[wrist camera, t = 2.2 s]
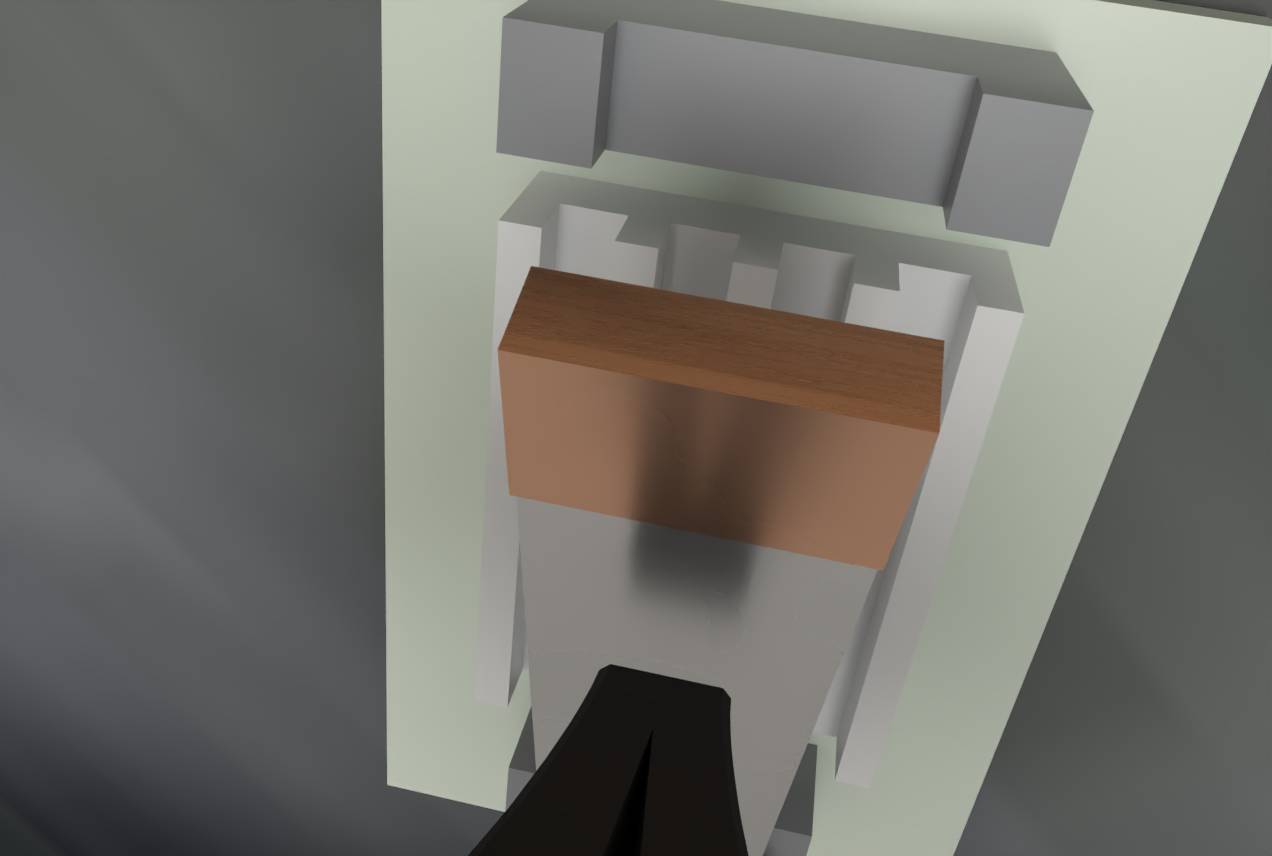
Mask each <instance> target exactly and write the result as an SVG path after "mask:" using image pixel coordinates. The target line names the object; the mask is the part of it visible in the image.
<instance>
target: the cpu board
mask: <svg viewBox="0 0 1272 856" xmlns="http://www.w3.org/2000/svg"><path fill="white" fill-rule="evenodd" d="M1271 64H1272V20H1271V19H1270V18H1268V17H1264V16H1258V15H1251V14H1244V13H1237V12H1231V11H1224V10H1217V9H1211V8H1204V7H1197V6H1190V5H1184V4H1177V3H1170V2H1163V1H1157V0H382V133H383V267H384V401H385V535H386V669H387V785H391V786H395V787H399V788H404V789H408V790H412V791H417V792H421V793H425V794H430V795H434V796H438V797H443V798H447V799H451V800H455V801H460V802H464V803H468V804H473V805H477V806H481V807H486V808H490V809H494V810H499V811H503V812H506V810H507V809H508V808H509V806H510V805H511V804H512V803H513V801H514V800H515V799H516V797H517V796H518V795H519V793H520V792H521V791H522V789H523V788H524V787H525V785H526V784H527V783H528V781H529V780H530V779H531V777H532V776H533V775H534V773H535V772H536V761H535V747H534V734H533V720H532V706H531V692H530V678H529V664H528V650H527V636H526V622H525V608H524V595H523V581H522V567H521V553H520V539H519V525H518V511H517V497H516V496H511V495H509V486H508V474H507V461H506V449H505V437H504V424H503V412H502V399H501V387H500V375H499V362H498V347H499V345H500V342H501V340H502V337H503V335H504V332H505V330H506V327H507V325H508V322H509V320H510V317H511V315H512V312H513V310H514V307H515V305H516V302H517V300H518V297H519V295H520V292H521V290H522V287H523V285H524V282H525V280H526V277H527V275H528V272H529V270H530V267H531V266H535V267H540V268H546V269H551V270H557V271H563V272H568V273H574V274H579V275H585V276H590V277H596V278H601V279H607V280H612V281H618V282H623V283H629V284H634V285H640V286H645V287H651V288H656V289H662V290H667V291H673V292H679V293H684V294H690V295H695V296H701V297H706V298H712V299H717V300H723V301H728V302H734V303H739V304H745V305H750V306H756V307H761V308H767V309H772V310H778V311H784V312H789V313H795V314H800V315H806V316H811V317H817V318H822V319H828V320H833V321H839V322H844V323H850V324H855V325H861V326H866V327H872V328H877V329H883V330H888V331H894V332H900V333H905V334H911V335H916V336H922V337H927V338H933V339H938V340H944V359H943V377H942V395H941V414H940V432H939V436H938V438H937V441H936V443H935V446H934V448H933V450H932V453H931V455H930V458H929V460H928V463H927V465H926V467H925V470H924V472H923V475H922V477H921V480H920V482H919V485H918V487H917V489H916V492H915V494H914V497H913V499H912V502H911V504H910V506H909V509H908V511H907V514H906V516H905V519H904V521H903V524H902V526H901V528H900V531H899V533H898V536H897V538H896V541H895V543H894V545H893V548H892V550H891V553H890V555H889V558H888V560H887V563H886V565H885V567H884V570H883V571H882V570H877V573H876V575H875V578H874V580H873V583H872V585H871V588H870V590H869V593H868V595H867V598H866V600H865V603H864V605H863V608H862V610H861V613H860V615H859V618H858V620H857V623H856V625H855V627H854V630H853V632H852V635H851V637H850V640H849V642H848V645H847V647H846V650H845V652H844V655H843V657H842V660H841V662H840V665H839V667H838V670H837V672H836V675H835V677H834V680H833V682H832V685H831V687H830V690H829V692H828V695H827V697H826V700H825V702H824V704H823V707H822V709H821V712H820V714H819V717H818V719H817V722H816V724H815V727H814V729H813V732H812V734H811V737H810V739H809V742H808V744H807V747H806V749H805V752H804V754H803V757H802V759H801V762H800V764H799V767H798V769H797V772H796V774H795V777H794V779H793V781H792V784H791V786H790V789H789V791H788V794H787V796H786V799H785V801H784V804H783V806H782V809H781V811H780V814H779V816H778V819H777V821H776V824H775V826H774V829H773V831H772V834H771V836H770V839H769V841H768V844H767V846H766V849H765V851H764V854H763V856H953V855H954V852H955V850H956V847H957V845H958V842H959V840H960V837H961V835H962V832H963V830H964V827H965V825H966V823H967V820H968V818H969V815H970V813H971V810H972V808H973V805H974V803H975V800H976V798H977V795H978V793H979V790H980V788H981V785H982V783H983V780H984V778H985V775H986V773H987V770H988V768H989V765H990V763H991V760H992V758H993V755H994V753H995V750H996V748H997V745H998V743H999V741H1000V738H1001V736H1002V733H1003V731H1004V728H1005V726H1006V723H1007V721H1008V718H1009V716H1010V713H1011V711H1012V708H1013V706H1014V703H1015V701H1016V698H1017V696H1018V693H1019V691H1020V688H1021V686H1022V683H1023V681H1024V678H1025V676H1026V673H1027V671H1028V668H1029V666H1030V663H1031V661H1032V658H1033V656H1034V654H1035V651H1036V649H1037V646H1038V644H1039V641H1040V639H1041V636H1042V634H1043V631H1044V629H1045V626H1046V624H1047V621H1048V619H1049V616H1050V614H1051V611H1052V609H1053V606H1054V604H1055V601H1056V599H1057V596H1058V594H1059V591H1060V589H1061V586H1062V584H1063V581H1064V579H1065V576H1066V574H1067V571H1068V569H1069V567H1070V564H1071V562H1072V559H1073V557H1074V554H1075V552H1076V549H1077V547H1078V544H1079V542H1080V539H1081V537H1082V534H1083V532H1084V529H1085V527H1086V524H1087V522H1088V519H1089V517H1090V514H1091V512H1092V509H1093V507H1094V504H1095V502H1096V499H1097V497H1098V494H1099V492H1100V489H1101V487H1102V485H1103V482H1104V480H1105V477H1106V475H1107V472H1108V470H1109V467H1110V465H1111V462H1112V460H1113V457H1114V455H1115V452H1116V450H1117V447H1118V445H1119V442H1120V440H1121V437H1122V435H1123V432H1124V430H1125V427H1126V425H1127V422H1128V420H1129V417H1130V415H1131V412H1132V410H1133V407H1134V405H1135V402H1136V400H1137V398H1138V395H1139V393H1140V390H1141V388H1142V385H1143V383H1144V380H1145V378H1146V375H1147V373H1148V370H1149V368H1150V365H1151V363H1152V360H1153V358H1154V355H1155V353H1156V350H1157V348H1158V345H1159V343H1160V340H1161V338H1162V335H1163V333H1164V330H1165V328H1166V325H1167V323H1168V320H1169V318H1170V315H1171V313H1172V311H1173V308H1174V306H1175V303H1176V301H1177V298H1178V296H1179V293H1180V291H1181V288H1182V286H1183V283H1184V281H1185V278H1186V276H1187V273H1188V271H1189V268H1190V266H1191V263H1192V261H1193V258H1194V256H1195V253H1196V251H1197V248H1198V246H1199V243H1200V241H1201V238H1202V236H1203V233H1204V231H1205V229H1206V226H1207V224H1208V221H1209V219H1210V216H1211V214H1212V211H1213V209H1214V206H1215V204H1216V201H1217V199H1218V196H1219V194H1220V191H1221V189H1222V186H1223V184H1224V181H1225V179H1226V176H1227V174H1228V171H1229V169H1230V166H1231V164H1232V161H1233V159H1234V156H1235V154H1236V151H1237V149H1238V146H1239V144H1240V142H1241V139H1242V137H1243V134H1244V132H1245V129H1246V127H1247V124H1248V122H1249V119H1250V117H1251V114H1252V112H1253V109H1254V107H1255V104H1256V102H1257V99H1258V97H1259V94H1260V92H1261V89H1262V87H1263V84H1264V82H1265V79H1266V77H1267V74H1268V72H1269V69H1270V67H1271Z"/></svg>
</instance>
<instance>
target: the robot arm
mask: <svg viewBox="0 0 1272 856" xmlns="http://www.w3.org/2000/svg"><path fill="white" fill-rule="evenodd" d="M730 711H731V697H730V696H729V695H728V694H727V692H726V691H725V690H724V689H723V688H720V687H716V686H711V685H706V684H702V683H697V682H692V681H688V680H683V679H678V678H674V677H669V676H664V675H660V674H655V673H650V672H646V671H641V670H636V669H632V668H627V667H623V666H618V665H613V664H610V665H608V666H606V667H604V668H602V669H600V670H599V671H598V674H597V676H596V678H595V680H594V682H593V684H592V686H591V688H590V690H589V692H588V693H587V695H586V697H585V699H584V700H583V702H582V704H581V706H580V707H579V709H578V711H577V712H576V714H575V716H574V717H573V719H572V720H571V722H570V723H569V725H568V727H567V728H566V730H565V731H564V733H563V734H562V735H561V737H560V738H559V740H558V741H557V743H556V744H555V746H554V747H553V749H552V750H551V752H550V753H549V755H548V756H547V757H546V759H545V760H544V761H543V763H542V764H541V765H540V767H539V768H538V769H537V771H536V772H535V773H534V775H533V776H532V777H531V779H530V780H529V781H528V783H527V784H526V785H525V787H524V788H523V789H522V791H521V792H520V793H519V795H518V796H517V797H516V799H515V800H514V801H513V803H512V804H511V805H510V806H509V808H508V809H507V810H506V812H505V813H504V814H503V815H502V816H501V818H500V819H499V820H498V821H497V822H496V824H495V825H494V826H493V827H492V828H491V829H490V831H489V832H488V833H487V834H486V835H485V836H484V838H483V839H482V840H481V841H480V842H479V843H478V845H477V846H476V847H475V848H474V849H473V850H472V852H471V853H470V854H469V855H468V856H749V855H748V850H747V845H746V841H745V836H744V831H743V826H742V821H741V815H740V809H739V803H738V797H737V789H736V782H735V774H734V767H733V757H732V746H731V721H730Z"/></svg>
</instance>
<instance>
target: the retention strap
mask: <svg viewBox="0 0 1272 856" xmlns="http://www.w3.org/2000/svg"><path fill="white" fill-rule="evenodd" d="M943 359H944V340H938V339H933V338H927V337H922V336H916V335H911V334H905V333H900V332H894V331H888V330H883V329H877V328H872V327H866V326H861V325H855V324H850V323H844V322H839V321H833V320H828V319H822V318H817V317H811V316H806V315H800V314H795V313H789V312H784V311H778V310H772V309H767V308H761V307H756V306H750V305H745V304H739V303H734V302H728V301H723V300H717V299H712V298H706V297H701V296H695V295H690V294H684V293H679V292H673V291H667V290H662V289H656V288H651V287H645V286H640V285H634V284H629V283H623V282H618V281H612V280H607V279H601V278H596V277H590V276H585V275H579V274H574V273H568V272H563V271H557V270H551V269H546V268H540V267H535V266H531V267H530V270H529V272H528V275H527V277H526V280H525V282H524V285H523V287H522V290H521V292H520V295H519V297H518V300H517V302H516V305H515V307H514V310H513V312H512V315H511V317H510V320H509V322H508V325H507V327H506V330H505V332H504V335H503V337H502V340H501V342H500V345H499V347H498V362H499V375H500V387H501V399H502V412H503V424H504V437H505V449H506V461H507V474H508V486H509V495H511V496H516V497H517V511H518V525H519V539H520V553H521V567H522V581H523V595H524V608H525V622H526V636H527V650H528V664H529V678H530V692H531V706H532V720H533V734H534V747H535V761H536V771H537V769H538V768H539V767H540V765H541V764H542V763H543V761H544V760H545V759H546V757H547V756H548V755H549V753H550V752H551V750H552V749H553V747H554V746H555V744H556V743H557V741H558V740H559V738H560V737H561V735H562V734H563V733H564V731H565V730H566V728H567V727H568V725H569V723H570V722H571V720H572V719H573V717H574V716H575V714H576V712H577V711H578V709H579V707H580V706H581V704H582V702H583V700H584V699H585V697H586V695H587V693H588V692H589V690H590V688H591V686H592V684H593V682H594V680H595V678H596V676H597V674H598V671H599V670H600V669H602V668H604V667H606V666H608V665H610V664H613V665H618V666H623V667H627V668H632V669H636V670H641V671H646V672H650V673H655V674H660V675H664V676H669V677H674V678H678V679H683V680H688V681H692V682H697V683H702V684H706V685H711V686H716V687H720V688H723V689H724V690H725V691H726V692H727V694H728V695H729V696H730V697H731V711H730V721H731V746H732V757H733V767H734V774H735V782H736V789H737V797H738V803H739V809H740V815H741V821H742V826H743V831H744V836H745V841H746V845H747V850H748V855H749V856H763V854H764V851H765V849H766V846H767V844H768V841H769V839H770V836H771V834H772V831H773V829H774V826H775V824H776V821H777V819H778V816H779V814H780V811H781V809H782V806H783V804H784V801H785V799H786V796H787V794H788V791H789V789H790V786H791V784H792V781H793V779H794V777H795V774H796V772H797V769H798V767H799V764H800V762H801V759H802V757H803V754H804V752H805V749H806V747H807V744H808V742H809V739H810V737H811V734H812V732H813V729H814V727H815V724H816V722H817V719H818V717H819V714H820V712H821V709H822V707H823V704H824V702H825V700H826V697H827V695H828V692H829V690H830V687H831V685H832V682H833V680H834V677H835V675H836V672H837V670H838V667H839V665H840V662H841V660H842V657H843V655H844V652H845V650H846V647H847V645H848V642H849V640H850V637H851V635H852V632H853V630H854V627H855V625H856V623H857V620H858V618H859V615H860V613H861V610H862V608H863V605H864V603H865V600H866V598H867V595H868V593H869V590H870V588H871V585H872V583H873V580H874V578H875V575H876V573H877V570H882V571H883V570H884V567H885V565H886V563H887V560H888V558H889V555H890V553H891V550H892V548H893V545H894V543H895V541H896V538H897V536H898V533H899V531H900V528H901V526H902V524H903V521H904V519H905V516H906V514H907V511H908V509H909V506H910V504H911V502H912V499H913V497H914V494H915V492H916V489H917V487H918V485H919V482H920V480H921V477H922V475H923V472H924V470H925V467H926V465H927V463H928V460H929V458H930V455H931V453H932V450H933V448H934V446H935V443H936V441H937V438H938V436H939V432H940V414H941V395H942V377H943Z"/></svg>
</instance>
